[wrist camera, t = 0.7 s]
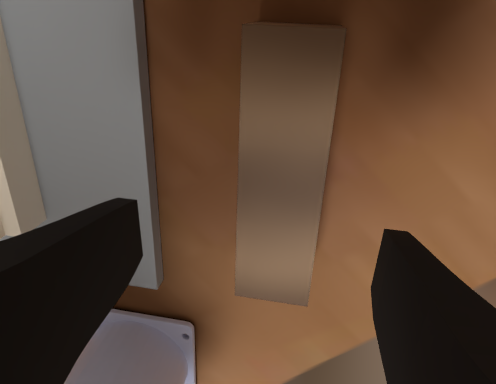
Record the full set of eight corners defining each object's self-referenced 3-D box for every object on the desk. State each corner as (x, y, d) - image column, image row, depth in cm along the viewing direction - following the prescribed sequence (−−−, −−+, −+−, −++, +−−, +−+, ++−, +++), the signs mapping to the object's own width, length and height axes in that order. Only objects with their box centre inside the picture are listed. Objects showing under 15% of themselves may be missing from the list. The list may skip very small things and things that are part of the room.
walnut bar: (310, 257, 21) (307, 306, 18) (249, 248, 22) (234, 295, 18) (341, 24, 16) (346, 28, 12) (259, 21, 16) (242, 23, 13)
